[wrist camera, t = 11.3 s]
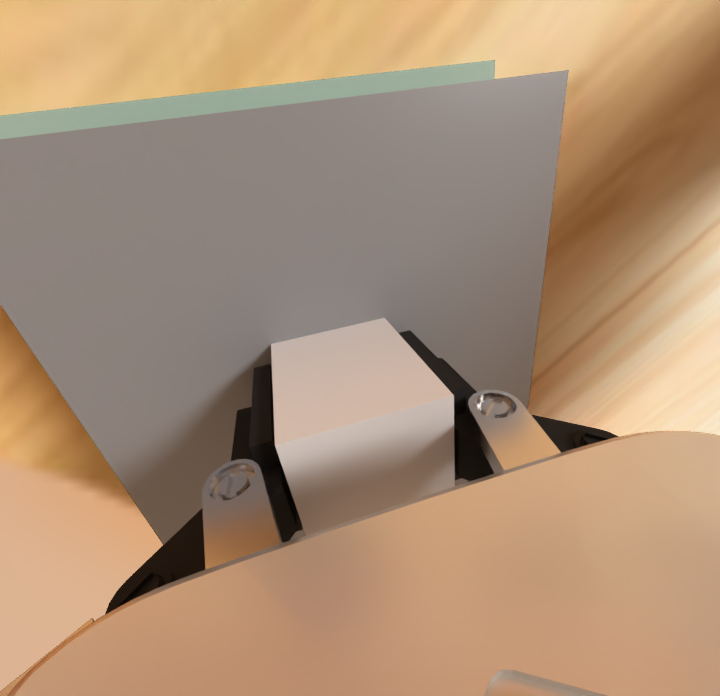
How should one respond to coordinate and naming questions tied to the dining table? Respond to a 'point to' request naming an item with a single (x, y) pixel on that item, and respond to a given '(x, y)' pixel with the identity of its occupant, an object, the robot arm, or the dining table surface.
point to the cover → (286, 282)
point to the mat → (238, 99)
